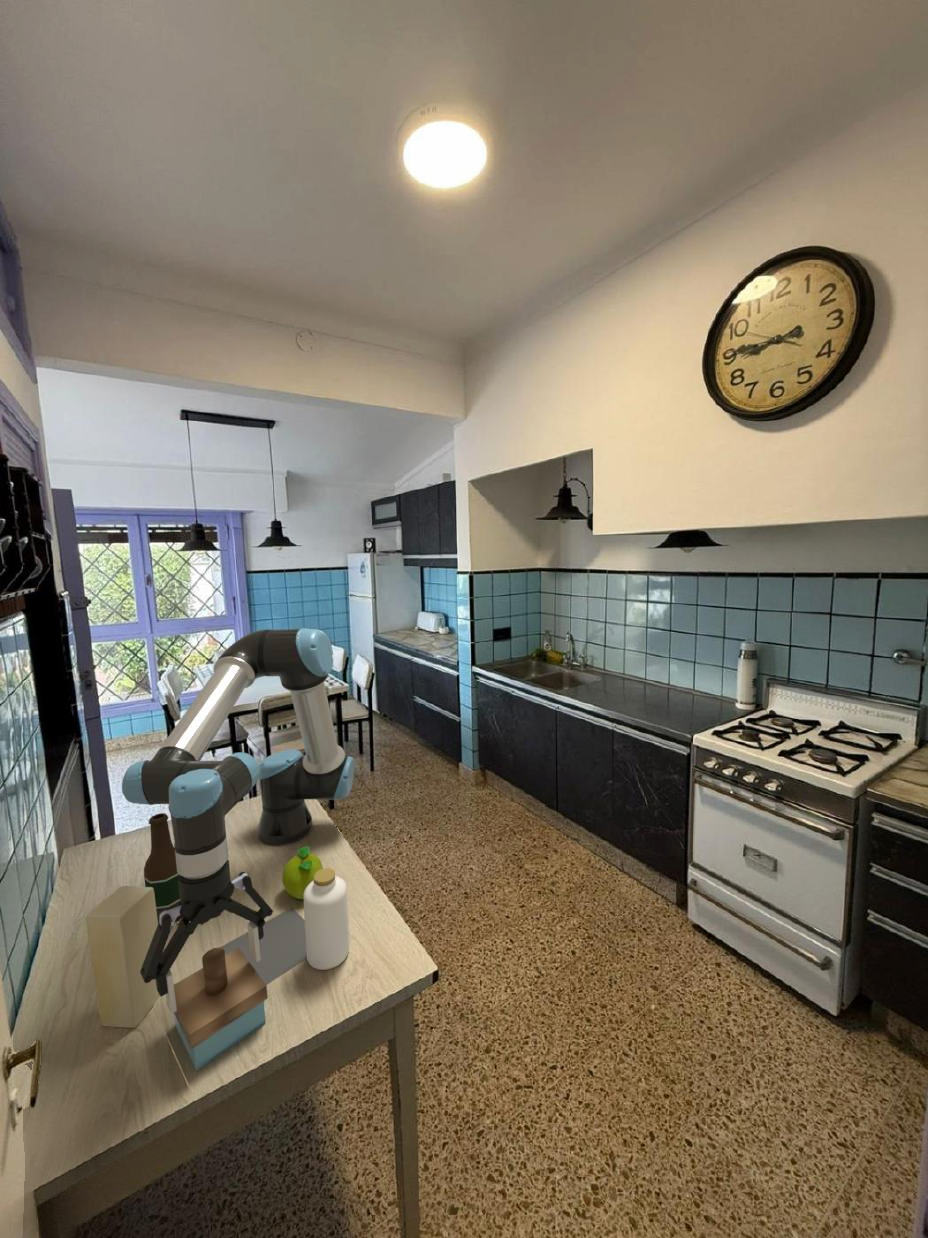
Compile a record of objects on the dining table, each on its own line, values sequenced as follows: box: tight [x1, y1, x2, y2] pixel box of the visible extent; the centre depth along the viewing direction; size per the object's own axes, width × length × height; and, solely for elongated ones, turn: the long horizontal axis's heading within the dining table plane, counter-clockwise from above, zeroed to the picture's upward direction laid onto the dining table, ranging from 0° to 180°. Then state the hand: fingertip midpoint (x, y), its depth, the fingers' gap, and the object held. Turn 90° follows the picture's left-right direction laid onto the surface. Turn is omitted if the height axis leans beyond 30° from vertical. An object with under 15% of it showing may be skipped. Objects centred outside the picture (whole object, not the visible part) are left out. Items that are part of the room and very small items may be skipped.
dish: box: [173, 1001, 267, 1072], centre depth 85 cm, size 11×11×5 cm
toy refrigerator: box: [85, 885, 161, 1029], centre depth 88 cm, size 8×7×21 cm
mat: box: [220, 907, 307, 986], centre depth 102 cm, size 16×16×1 cm
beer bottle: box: [143, 812, 182, 923], centre depth 111 cm, size 8×8×24 cm
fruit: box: [281, 846, 324, 900], centre depth 118 cm, size 9×9×10 cm
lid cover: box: [173, 946, 268, 1049], centre depth 84 cm, size 12×12×8 cm
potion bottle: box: [303, 867, 350, 971], centre depth 98 cm, size 8×8×18 cm
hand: (215, 981), depth 84 cm, fingers open, 13 cm apart
